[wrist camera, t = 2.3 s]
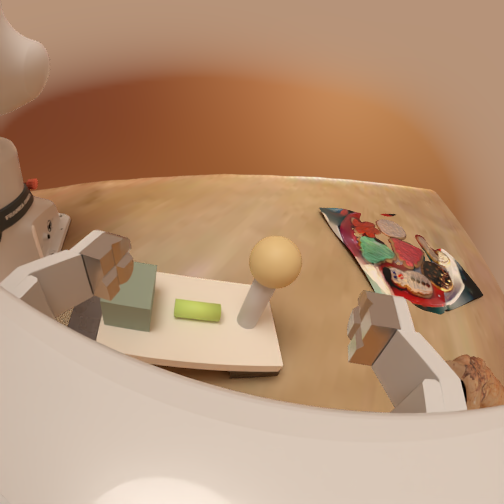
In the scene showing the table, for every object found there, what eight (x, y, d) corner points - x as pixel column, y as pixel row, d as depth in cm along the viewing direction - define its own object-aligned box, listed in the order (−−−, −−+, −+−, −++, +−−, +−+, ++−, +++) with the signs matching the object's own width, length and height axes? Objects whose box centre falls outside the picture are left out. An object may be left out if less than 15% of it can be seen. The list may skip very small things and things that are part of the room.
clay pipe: (420, 366, 38) (393, 408, 28) (459, 322, 34) (449, 355, 24) (479, 424, 27) (467, 479, 17) (521, 385, 23) (526, 435, 12)
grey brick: (99, 305, 36) (86, 271, 32) (264, 309, 41) (272, 276, 36) (83, 376, 27) (61, 349, 23) (278, 382, 32) (292, 356, 27)
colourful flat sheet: (395, 332, 40) (400, 325, 39) (316, 214, 66) (318, 208, 64) (481, 298, 49) (485, 292, 48) (410, 216, 75) (412, 211, 74)
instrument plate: (96, 354, 23) (73, 259, 15) (116, 273, 32) (118, 178, 24) (278, 371, 29) (339, 295, 21) (262, 293, 38) (301, 213, 30)
